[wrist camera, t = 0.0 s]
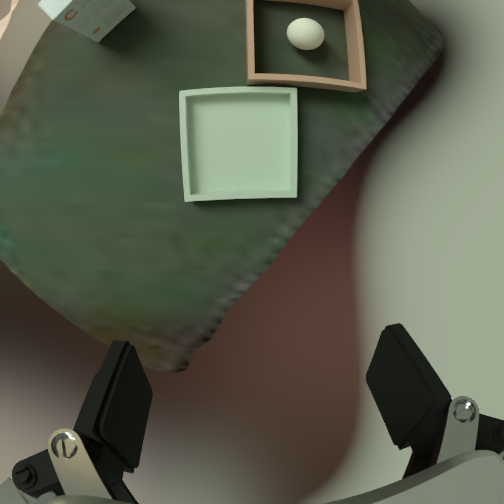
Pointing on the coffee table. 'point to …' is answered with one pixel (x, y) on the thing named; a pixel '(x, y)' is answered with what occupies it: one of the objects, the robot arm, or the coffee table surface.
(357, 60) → the tan square frame
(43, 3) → the small box
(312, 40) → the ball
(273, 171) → the tray
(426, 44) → the coffee table surface
